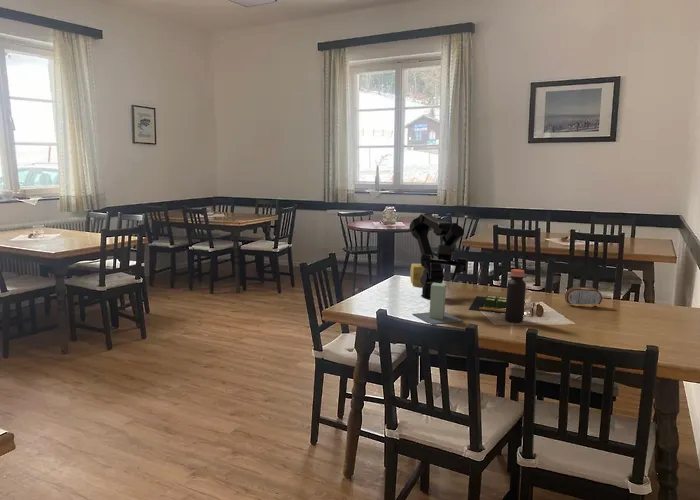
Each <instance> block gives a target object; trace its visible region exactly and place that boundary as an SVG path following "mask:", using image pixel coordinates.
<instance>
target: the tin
mask: <svg viewBox="0 0 700 500" xmlns="http://www.w3.org/2000/svg"><path fill="white" fill-rule="evenodd" d="M564 299H565V302H566V303H567V304H568V303H569V304H568V305H570V304H599V305H601V303H602V300H603V296H602V292H600V291H599V289H597V288H595V287H584V286H582V287H581V286H573V287H569V288H568V289H567V290H566V291H565V294H564Z"/></svg>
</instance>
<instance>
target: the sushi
mask: <svg viewBox="0 0 700 500" xmlns="http://www.w3.org/2000/svg"><path fill="white" fill-rule="evenodd" d="M506 298H507V296H501V295H500V296H497V295H489V294H488V295H486V296H480V295H479V296H475V298H474V300H473V301H472V303H471V304H470V306H469V308H468V310H469V311H476V312H485V313H492V312H495V313H494V314H501V313H505V312H506V309H501V308H506ZM495 304H496V305H495ZM485 306H486V307H485ZM492 307H494V308H492ZM496 307H498V308H496Z"/></svg>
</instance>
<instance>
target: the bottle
mask: <svg viewBox="0 0 700 500" xmlns="http://www.w3.org/2000/svg"><path fill="white" fill-rule="evenodd" d="M510 277H511V278H510V279H509V280H508V281H507V286H506V297H507V298H506V309H505V310H506V312H505V314H504V319H505V321H506V322H508V323H512V322H513V323H514V324H520V322H521V323H523V322H524V316H523V315H524V303H525V301H526V290H527V287H526V286H527V283H526V282H525V280H524V277H525V270H524V269H518V268H513V269H512V268H511V270H510Z"/></svg>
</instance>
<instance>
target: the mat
mask: <svg viewBox="0 0 700 500" xmlns="http://www.w3.org/2000/svg"><path fill="white" fill-rule="evenodd" d="M412 316H414V317H416V318H418V319H419V320H421V321H423V322H425V323H427V324H429V323H430V324H429V325H431V324H434V325H440V324H441V325H443V324H449V323H461V322H463V320H462V319H461V318H458V317H457V316H454V315H452V314H450V313H448V312H446V311H445V314H444V317H443V319H434V318H429V316H430V311H429V312H416V313H412Z"/></svg>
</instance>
